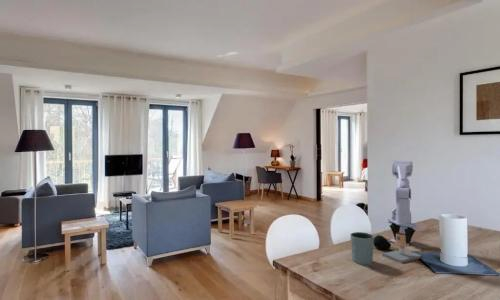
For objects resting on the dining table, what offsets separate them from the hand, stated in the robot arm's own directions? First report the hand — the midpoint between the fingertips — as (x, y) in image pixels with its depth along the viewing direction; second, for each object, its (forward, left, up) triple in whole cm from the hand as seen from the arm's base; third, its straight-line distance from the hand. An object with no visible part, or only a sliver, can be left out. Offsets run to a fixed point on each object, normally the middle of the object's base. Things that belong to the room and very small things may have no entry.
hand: (402, 241), depth 150 cm
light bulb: (-1, -11, -8) cm, 13 cm away
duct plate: (0, 0, -7) cm, 7 cm away
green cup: (+21, -5, -8) cm, 23 cm away
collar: (0, 0, -1) cm, 1 cm away
